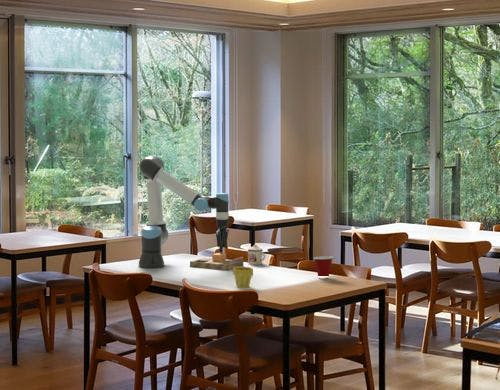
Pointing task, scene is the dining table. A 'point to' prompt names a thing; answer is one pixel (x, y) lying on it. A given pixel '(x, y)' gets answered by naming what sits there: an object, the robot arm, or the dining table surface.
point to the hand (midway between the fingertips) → (221, 257)
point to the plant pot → (243, 276)
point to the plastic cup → (323, 265)
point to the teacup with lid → (255, 255)
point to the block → (219, 257)
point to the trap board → (217, 263)
